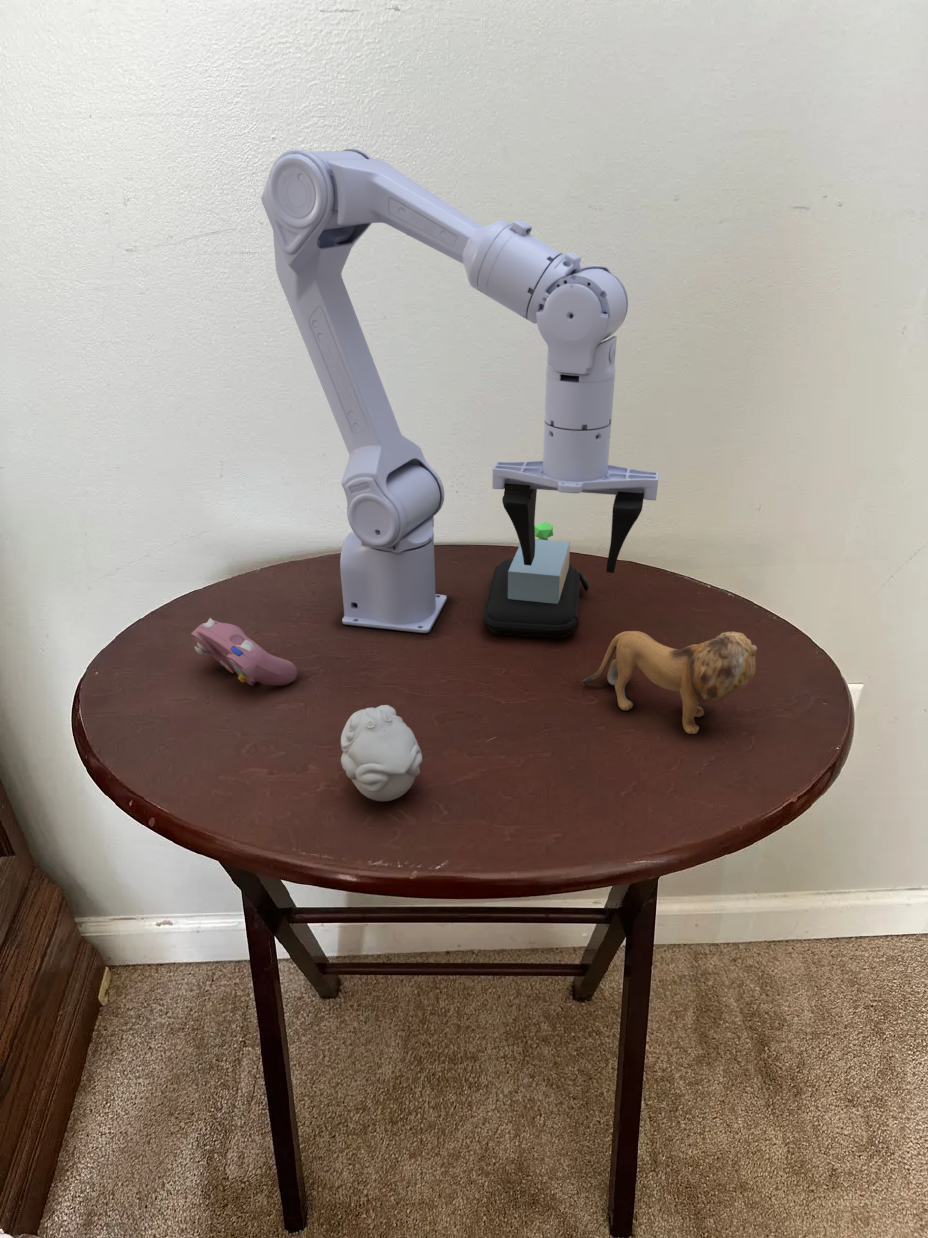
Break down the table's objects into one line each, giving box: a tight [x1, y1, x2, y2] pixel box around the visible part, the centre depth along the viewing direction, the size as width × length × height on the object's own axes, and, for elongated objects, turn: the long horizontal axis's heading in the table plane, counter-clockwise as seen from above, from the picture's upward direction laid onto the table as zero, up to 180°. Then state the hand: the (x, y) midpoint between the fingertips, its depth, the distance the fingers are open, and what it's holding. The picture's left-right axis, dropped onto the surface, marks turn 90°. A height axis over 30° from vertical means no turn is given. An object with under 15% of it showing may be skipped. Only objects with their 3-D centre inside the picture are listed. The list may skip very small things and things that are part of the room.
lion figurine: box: [581, 630, 758, 735], centre depth 73 cm, size 15×5×9 cm, turn 62°
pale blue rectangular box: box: [508, 538, 571, 604], centre depth 89 cm, size 5×8×3 cm, turn 167°
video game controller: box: [190, 617, 298, 687], centre depth 79 cm, size 10×5×7 cm, turn 47°
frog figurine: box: [340, 704, 423, 802], centre depth 64 cm, size 6×7×7 cm
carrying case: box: [482, 558, 589, 639], centre depth 91 cm, size 11×3×15 cm
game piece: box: [535, 521, 554, 540], centre depth 99 cm, size 4×4×6 cm
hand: (569, 564), depth 80 cm, fingers open, 7 cm apart
